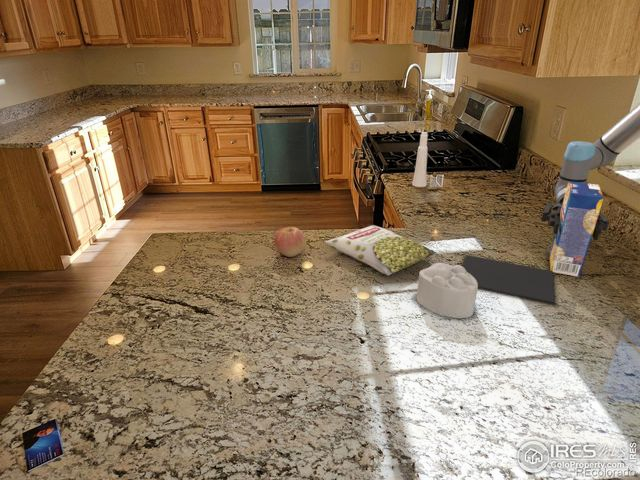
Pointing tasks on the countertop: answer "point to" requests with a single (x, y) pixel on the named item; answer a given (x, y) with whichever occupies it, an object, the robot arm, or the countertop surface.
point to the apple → (289, 241)
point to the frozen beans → (381, 249)
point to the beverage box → (575, 227)
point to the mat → (511, 278)
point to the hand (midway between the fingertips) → (576, 232)
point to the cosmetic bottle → (421, 163)
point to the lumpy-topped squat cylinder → (447, 290)
